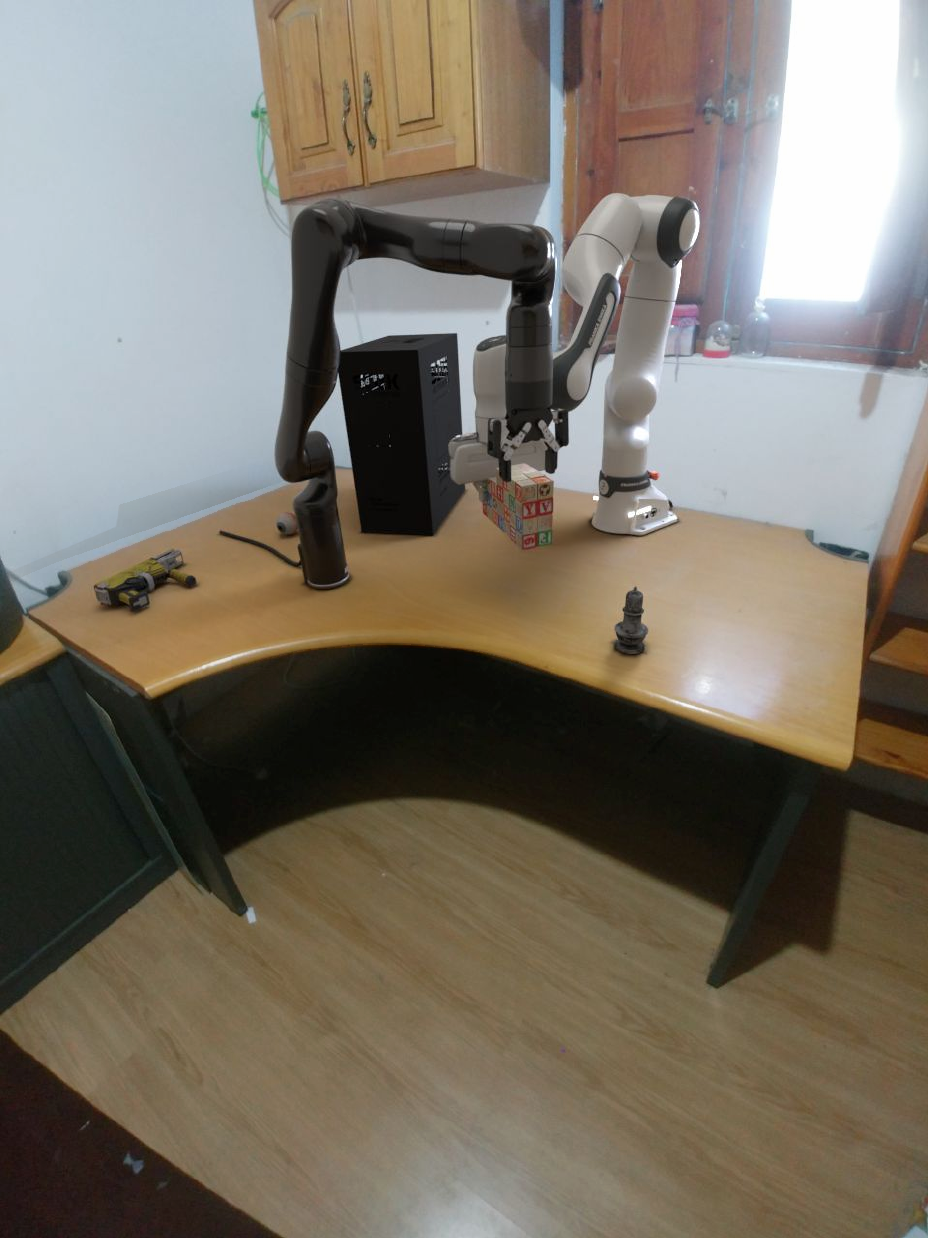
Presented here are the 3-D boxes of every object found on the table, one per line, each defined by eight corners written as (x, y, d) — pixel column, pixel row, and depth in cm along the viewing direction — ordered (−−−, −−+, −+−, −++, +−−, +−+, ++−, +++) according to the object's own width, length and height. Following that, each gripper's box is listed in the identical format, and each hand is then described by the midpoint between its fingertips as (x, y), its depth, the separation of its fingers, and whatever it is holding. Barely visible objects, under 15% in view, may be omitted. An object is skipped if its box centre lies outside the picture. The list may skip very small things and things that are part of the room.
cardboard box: (433, 535, 159) (417, 349, 136) (361, 532, 163) (335, 352, 141) (465, 489, 190) (457, 332, 168) (404, 488, 195) (388, 335, 172)
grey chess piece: (647, 656, 105) (654, 595, 99) (612, 653, 107) (618, 593, 101) (645, 638, 110) (652, 579, 104) (612, 636, 111) (617, 578, 105)
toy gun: (219, 557, 146) (169, 546, 150) (142, 598, 126) (87, 585, 129) (222, 574, 148) (172, 563, 152) (147, 618, 128) (92, 604, 132)
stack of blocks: (481, 514, 128) (478, 456, 122) (509, 509, 129) (507, 451, 123) (522, 550, 110) (521, 485, 104) (553, 544, 112) (554, 479, 105)
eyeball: (273, 537, 164) (268, 516, 161) (287, 528, 169) (282, 508, 166) (291, 539, 161) (286, 518, 158) (305, 530, 166) (301, 510, 163)
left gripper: (499, 384, 89) (501, 490, 98) (580, 373, 94) (576, 475, 102) (477, 378, 95) (481, 478, 104) (554, 368, 100) (552, 465, 108)
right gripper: (452, 440, 112) (457, 511, 118) (552, 424, 117) (552, 493, 124) (442, 433, 117) (448, 501, 124) (539, 419, 122) (539, 485, 129)
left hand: (528, 476), depth 103 cm, fingers open, 8 cm apart
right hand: (501, 497), depth 124 cm, fingers closed on stack of blocks, 6 cm apart
